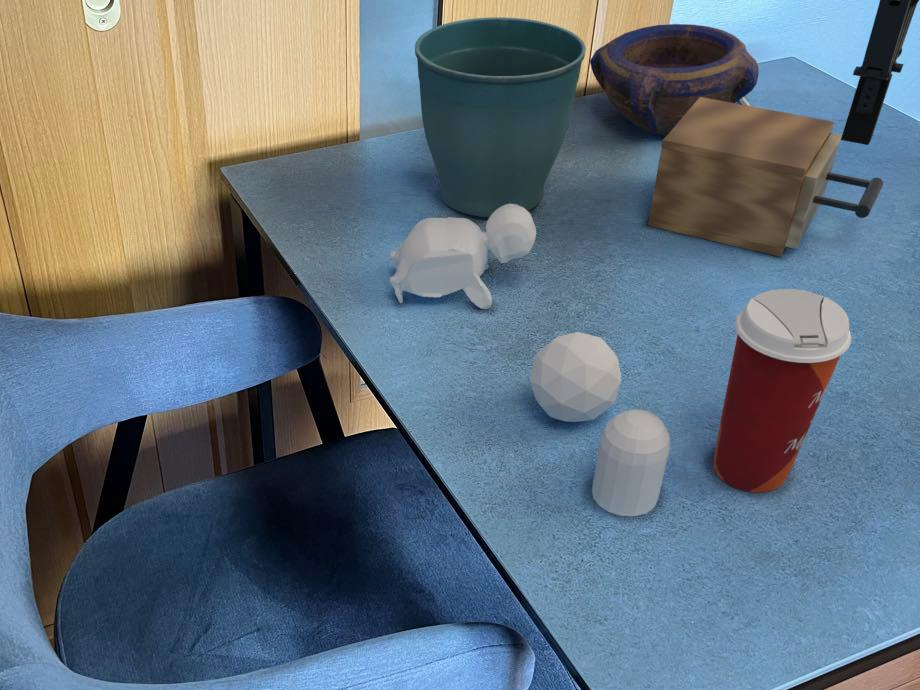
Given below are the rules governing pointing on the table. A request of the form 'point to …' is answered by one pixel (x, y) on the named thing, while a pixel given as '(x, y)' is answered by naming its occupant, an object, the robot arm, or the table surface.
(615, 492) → the capsule
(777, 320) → the coffee cup
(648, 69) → the bowl
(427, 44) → the flower pot
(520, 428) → the table surface
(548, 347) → the geometric ball
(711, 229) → the cabinet
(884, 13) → the robot arm
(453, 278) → the white turtle figurine
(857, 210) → the drawer
